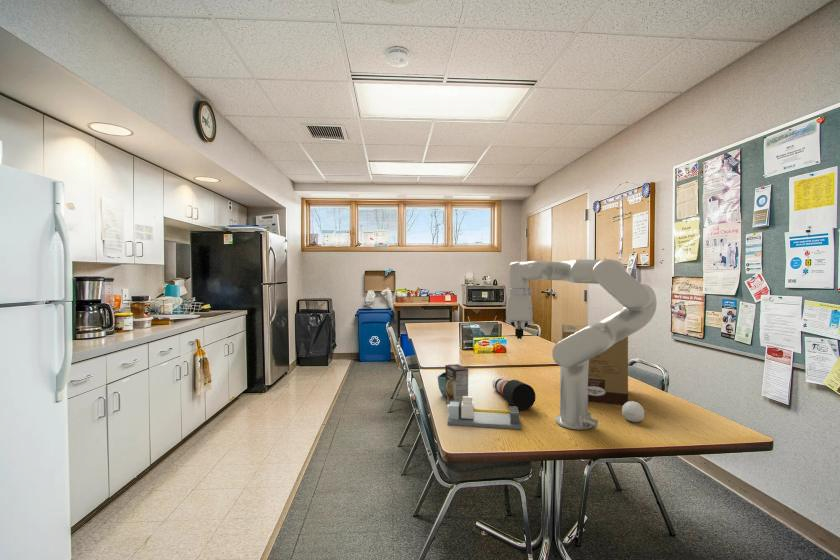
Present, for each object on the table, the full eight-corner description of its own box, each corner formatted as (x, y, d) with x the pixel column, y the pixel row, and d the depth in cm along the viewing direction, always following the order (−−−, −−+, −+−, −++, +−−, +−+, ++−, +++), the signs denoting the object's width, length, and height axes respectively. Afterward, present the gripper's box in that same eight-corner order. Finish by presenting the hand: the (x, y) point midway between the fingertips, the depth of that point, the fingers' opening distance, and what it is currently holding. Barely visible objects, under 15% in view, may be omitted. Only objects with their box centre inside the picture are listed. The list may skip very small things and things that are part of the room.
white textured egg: (617, 419, 138) (617, 400, 138) (630, 416, 141) (630, 397, 141) (642, 429, 129) (642, 408, 129) (656, 426, 132) (656, 405, 132)
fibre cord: (518, 413, 135) (518, 410, 135) (518, 414, 134) (518, 411, 134) (457, 410, 139) (457, 406, 139) (457, 411, 138) (457, 408, 138)
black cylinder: (499, 395, 180) (507, 376, 182) (529, 413, 147) (539, 390, 149) (481, 387, 179) (489, 368, 181) (508, 403, 146) (517, 379, 148)
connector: (462, 414, 141) (461, 402, 141) (461, 419, 136) (461, 406, 136) (448, 413, 142) (448, 401, 142) (446, 418, 137) (446, 405, 137)
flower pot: (443, 390, 174) (443, 371, 174) (461, 393, 171) (461, 373, 171) (437, 396, 166) (437, 376, 166) (455, 398, 163) (455, 378, 163)
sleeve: (473, 413, 140) (473, 395, 140) (473, 418, 135) (473, 399, 135) (462, 413, 141) (462, 394, 141) (461, 418, 136) (461, 398, 136)
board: (518, 418, 140) (518, 405, 140) (521, 429, 130) (521, 415, 130) (450, 414, 144) (450, 401, 144) (447, 424, 134) (447, 410, 134)
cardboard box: (618, 389, 176) (619, 326, 176) (628, 406, 152) (628, 333, 152) (561, 383, 185) (562, 323, 185) (562, 399, 161) (562, 330, 161)
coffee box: (444, 402, 158) (444, 365, 158) (458, 400, 161) (457, 363, 160) (455, 409, 150) (454, 369, 149) (468, 407, 152) (468, 368, 152)
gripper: (537, 292, 150) (537, 337, 150) (499, 292, 152) (499, 336, 152) (539, 293, 142) (540, 340, 143) (500, 293, 145) (500, 339, 145)
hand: (519, 338), depth 148 cm, fingers closed
